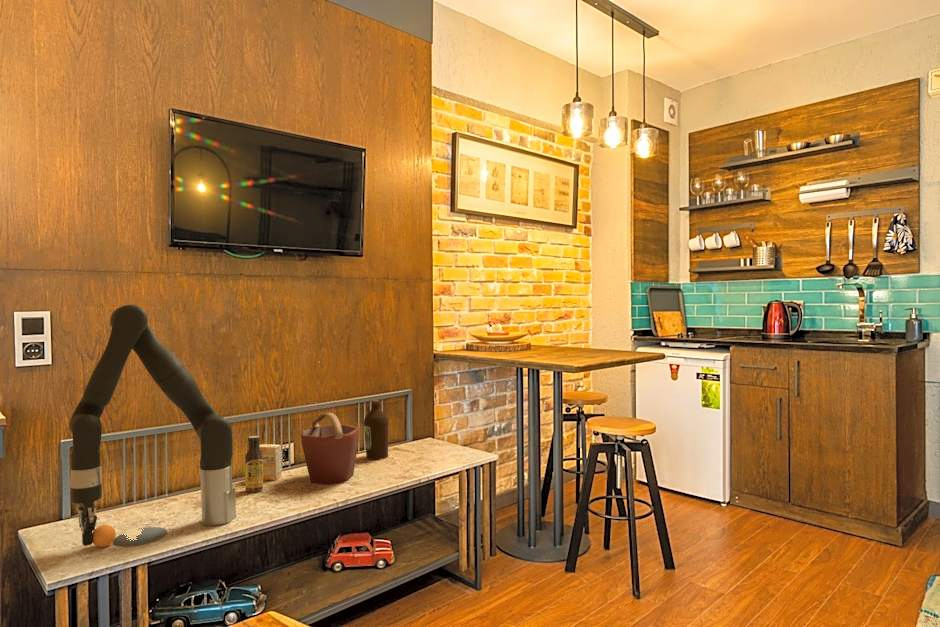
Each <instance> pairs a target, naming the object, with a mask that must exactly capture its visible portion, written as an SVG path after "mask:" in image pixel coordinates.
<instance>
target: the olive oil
mask: <svg viewBox="0 0 940 627" xmlns="http://www.w3.org/2000/svg"><path fill="white" fill-rule="evenodd" d="M363 430H364V442H365V452H366V453H365V455H366V459H368V460H373V461H374V460H382V459H383V460H384V459H386V458H388V457H389V418H388V415H387V414H385V413H384V411H383V410H381V408H380V400H379V399H372V400H371V409H370V411H369V412H368V413H367V414H366V415H365V418H364V420H363Z"/></svg>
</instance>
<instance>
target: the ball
mask: <svg viewBox="0 0 940 627" xmlns="http://www.w3.org/2000/svg"><path fill="white" fill-rule="evenodd" d="M116 535H117V532H116V529H115V528H114V527H113V526H112V525H109V524H101V525H99V526H97V527H95V530H93V531H92V544H93V545H94V546H96V547H100V548H105V547H107V546H109V545H111V544H112V543H113V541H114V539H115V538H116V537H117V536H116Z"/></svg>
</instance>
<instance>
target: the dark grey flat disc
mask: <svg viewBox="0 0 940 627" xmlns="http://www.w3.org/2000/svg"><path fill="white" fill-rule="evenodd" d="M142 528H143V529H144V530H143V529H142ZM141 529H142V532H141V533H142V534H140V535H138V536H136V537H137V538H136V539H137V540H134V539H133V540H134V541H133V540H131V539H130V540H131V541H130V540H129V539H128V538H129V537H128V538H126V537H127V535H126V536H125V535H124V534H123V533H121V534H119V535H117V536H115V539H114V541H113V542H112V543H113V544H114V545H115V544H116V545H115V546H118V545H122V546H121V547H132V546H131V545H135V546H141V545H145V543H146V544H148V543H149V544H150V543H152V542H155V541H157V539H158V540H160V539H161V537H162V538H163V537H164V536H166V535H167V531H168V530H167V529H166V528H164V527H161V526H160V527H159V526H150V527H149V526H148V527H141ZM122 534H123V535H122ZM159 538H160V539H159ZM127 539H128V540H127ZM140 544H141V545H140Z"/></svg>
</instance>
